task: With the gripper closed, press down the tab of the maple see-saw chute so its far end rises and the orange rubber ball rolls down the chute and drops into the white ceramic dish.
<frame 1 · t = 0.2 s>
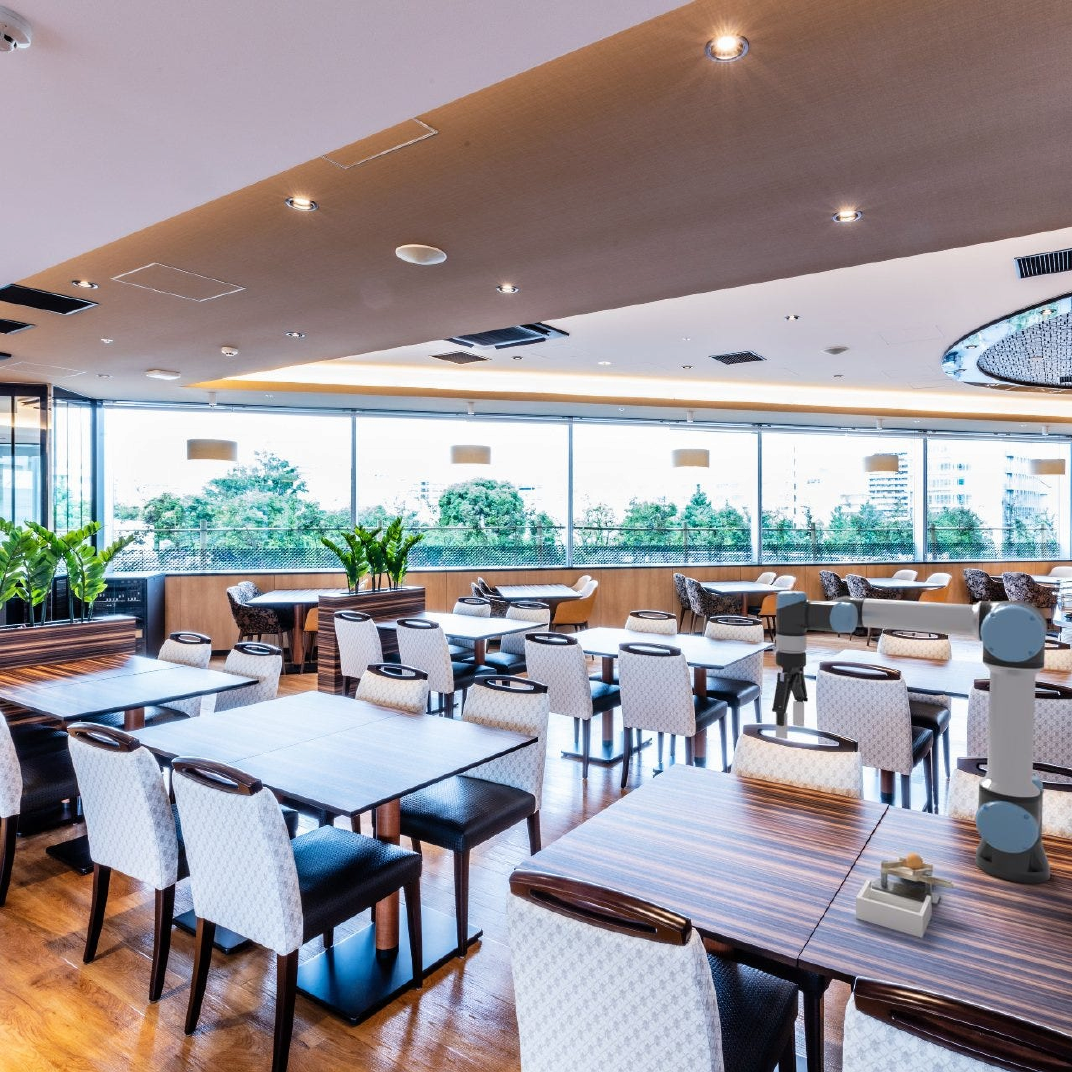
hand: (790, 731, 200), 28 cm above the table, fingers open, 13 cm apart
ball: (914, 861, 179), point 3 cm above the table, tilted 10°, touching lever
dish: (893, 916, 161), on the table
stand: (905, 892, 171), on the table
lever: (922, 872, 170), point 5 cm above the table, hinge at 19.3°, touching ball
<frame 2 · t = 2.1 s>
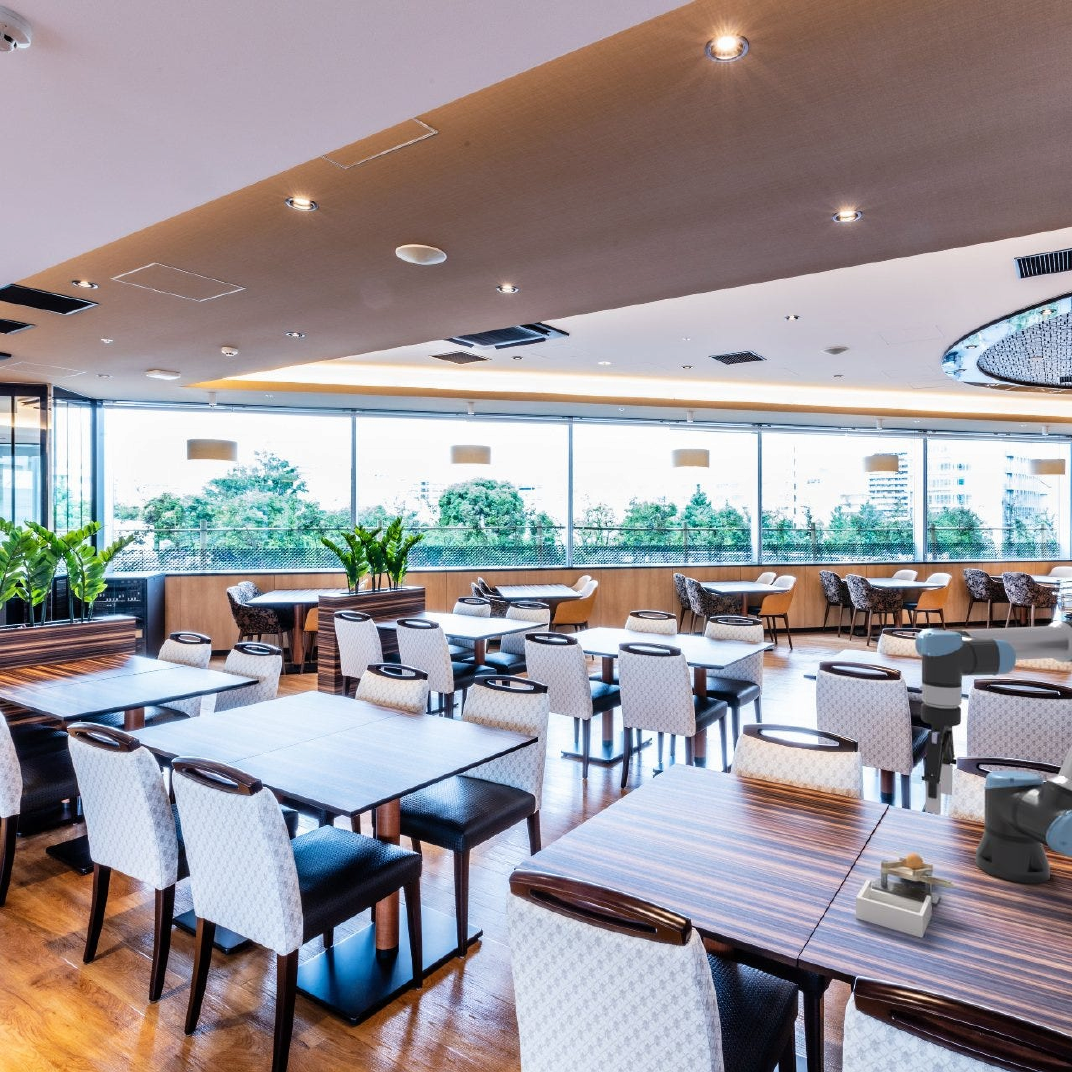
hand: (939, 802, 164), 23 cm above the table, fingers open, 13 cm apart
nothing on the table moved.
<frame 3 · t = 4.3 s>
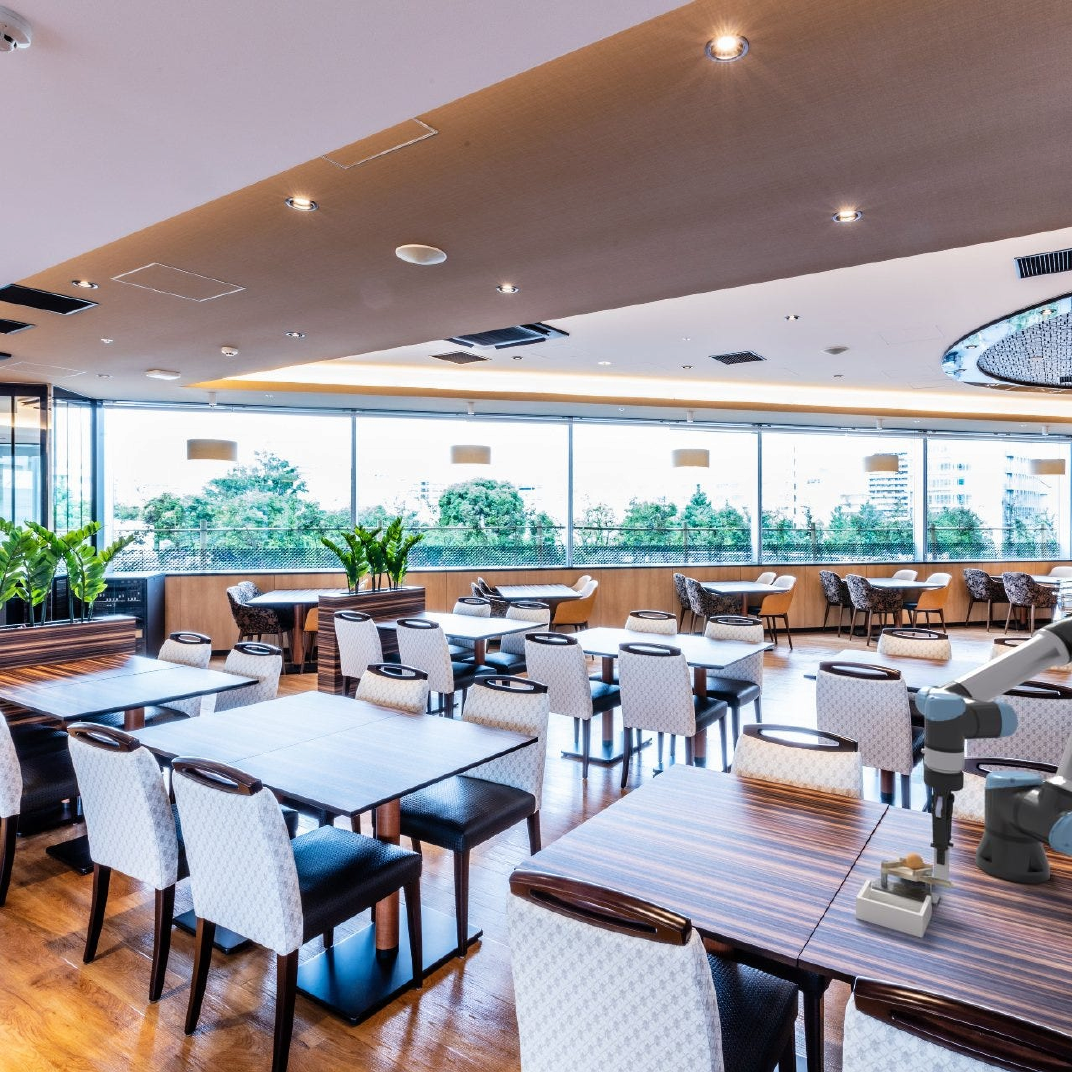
hand: (941, 877, 163), 7 cm above the table, fingers closed
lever: (922, 872, 170), point 5 cm above the table, hinge at 19.1°, touching ball, gripper
everything else where it was.
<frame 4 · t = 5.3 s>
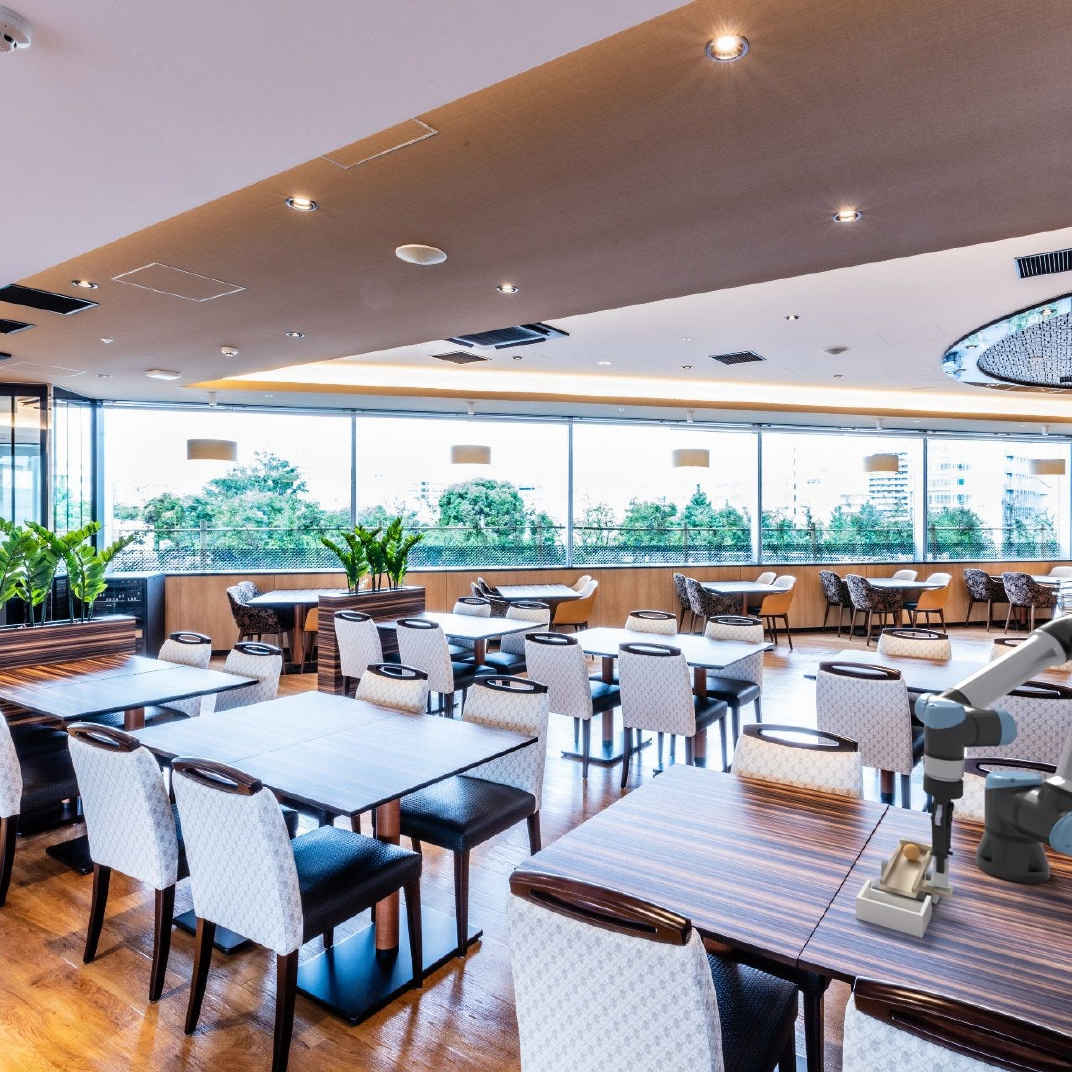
hand: (940, 885, 163), 5 cm above the table, fingers closed
ball: (911, 852, 175), point 7 cm above the table, tilted 126°, touching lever
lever: (921, 869, 170), point 5 cm above the table, hinge at -3.1°, touching ball, gripper
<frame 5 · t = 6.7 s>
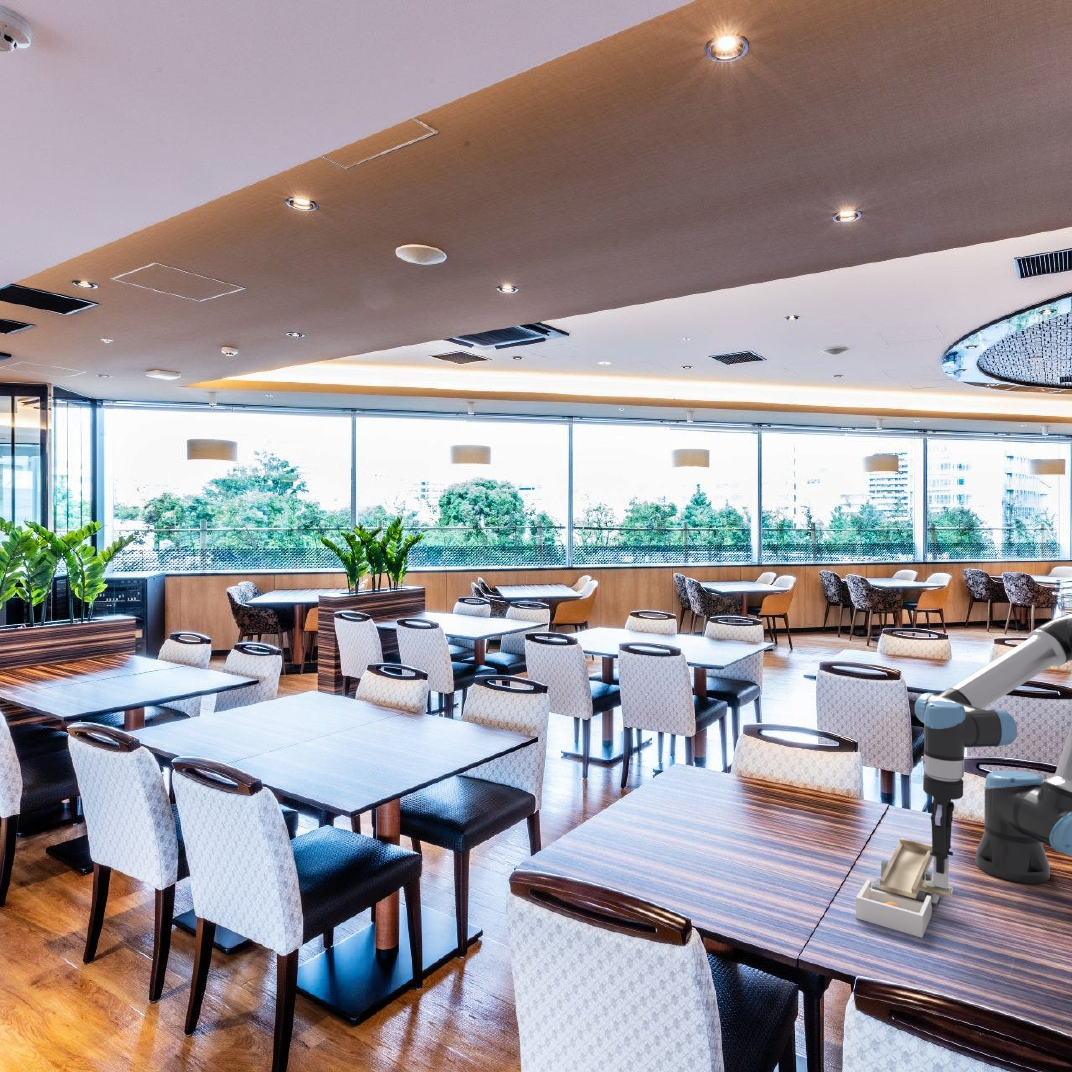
hand: (940, 885, 163), 5 cm above the table, fingers closed
ball: (891, 910, 159), point 2 cm above the table, tilted 95°, touching dish
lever: (921, 869, 170), point 5 cm above the table, hinge at -3.5°, touching gripper
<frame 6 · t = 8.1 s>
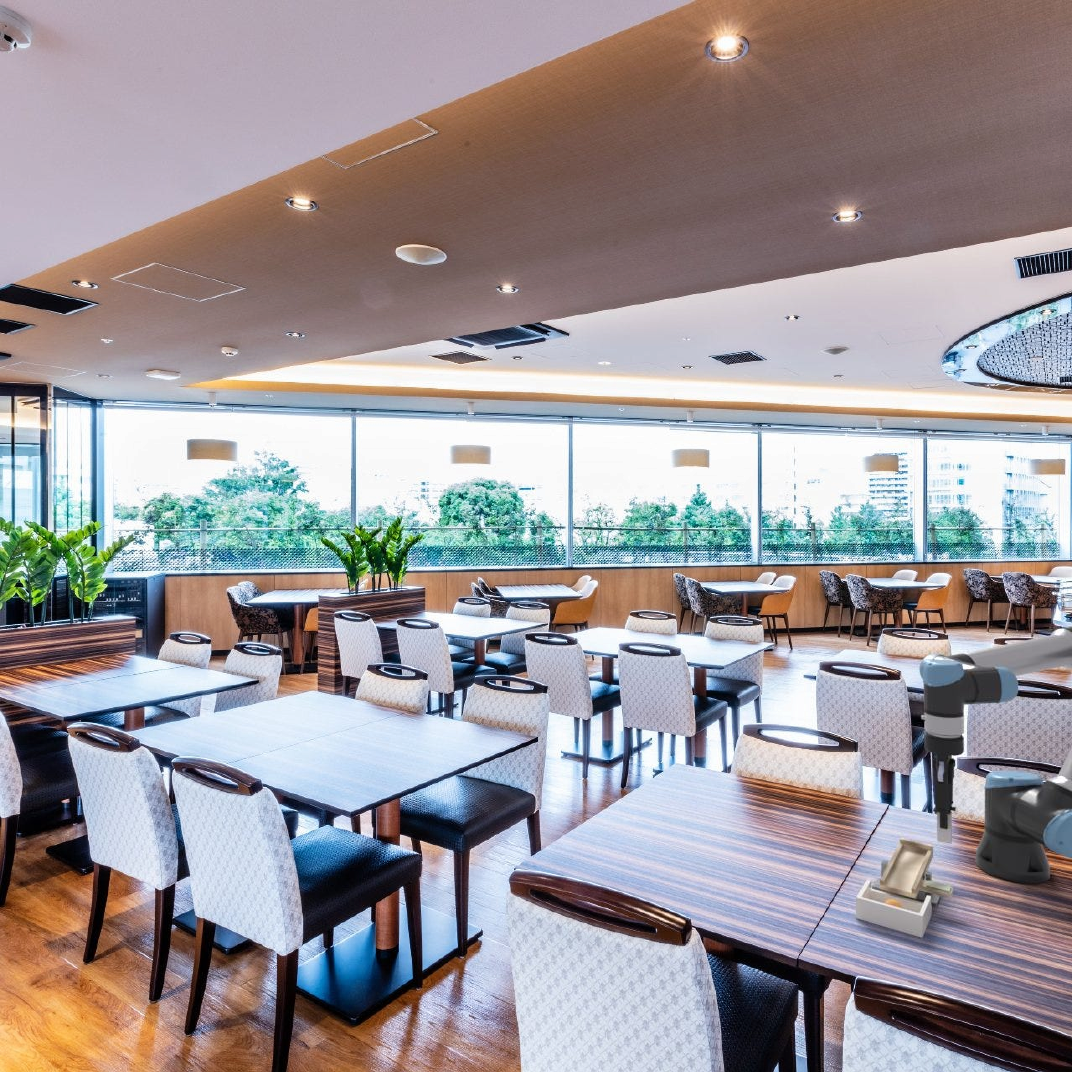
hand: (944, 841, 165), 14 cm above the table, fingers closed
ball: (893, 908, 160), point 2 cm above the table, tilted 56°, touching dish
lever: (921, 869, 170), point 5 cm above the table, hinge at -3.5°
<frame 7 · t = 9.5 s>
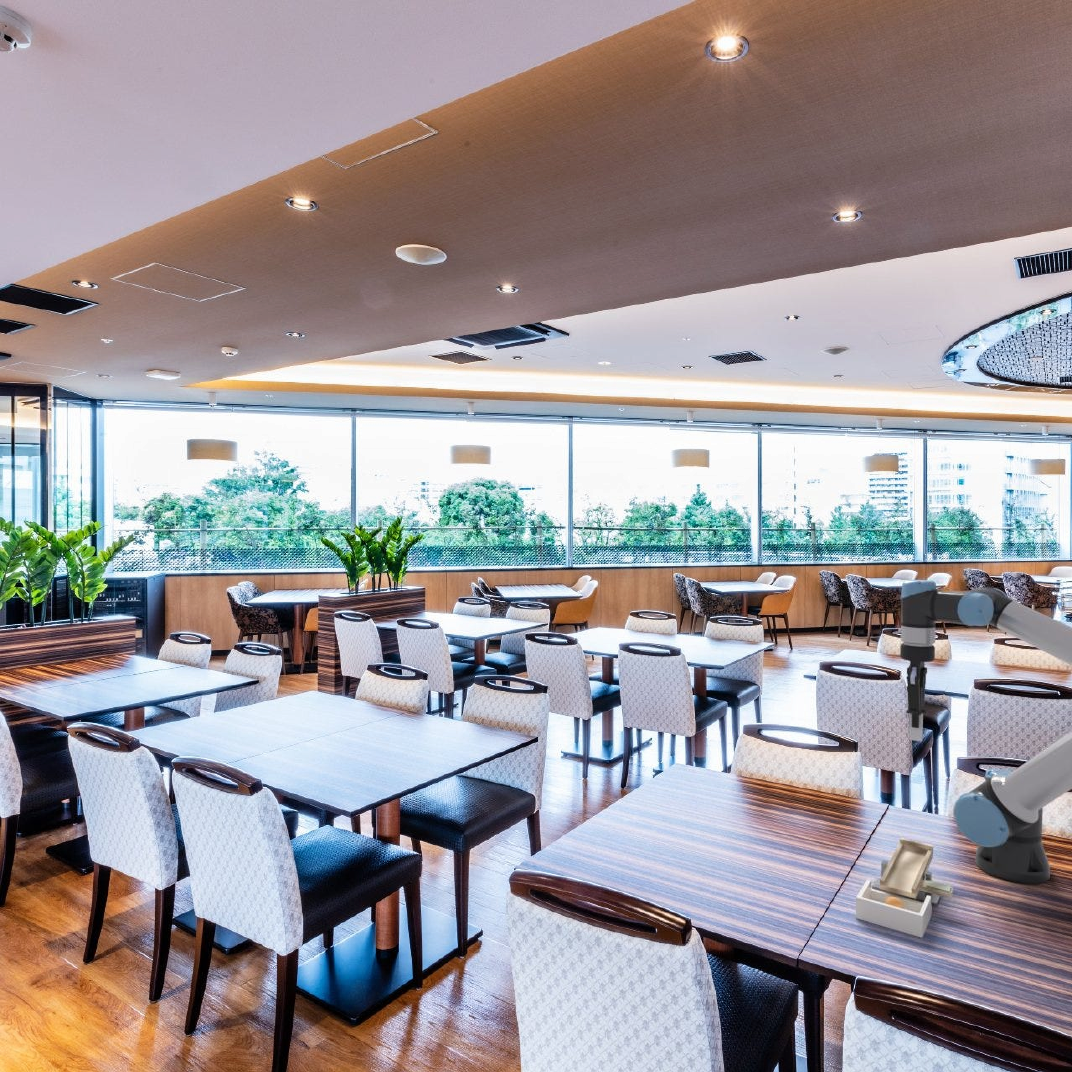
hand: (915, 739, 187), 29 cm above the table, fingers closed
ball: (894, 906, 161), point 2 cm above the table, tilted 16°, touching dish
everything else where it was.
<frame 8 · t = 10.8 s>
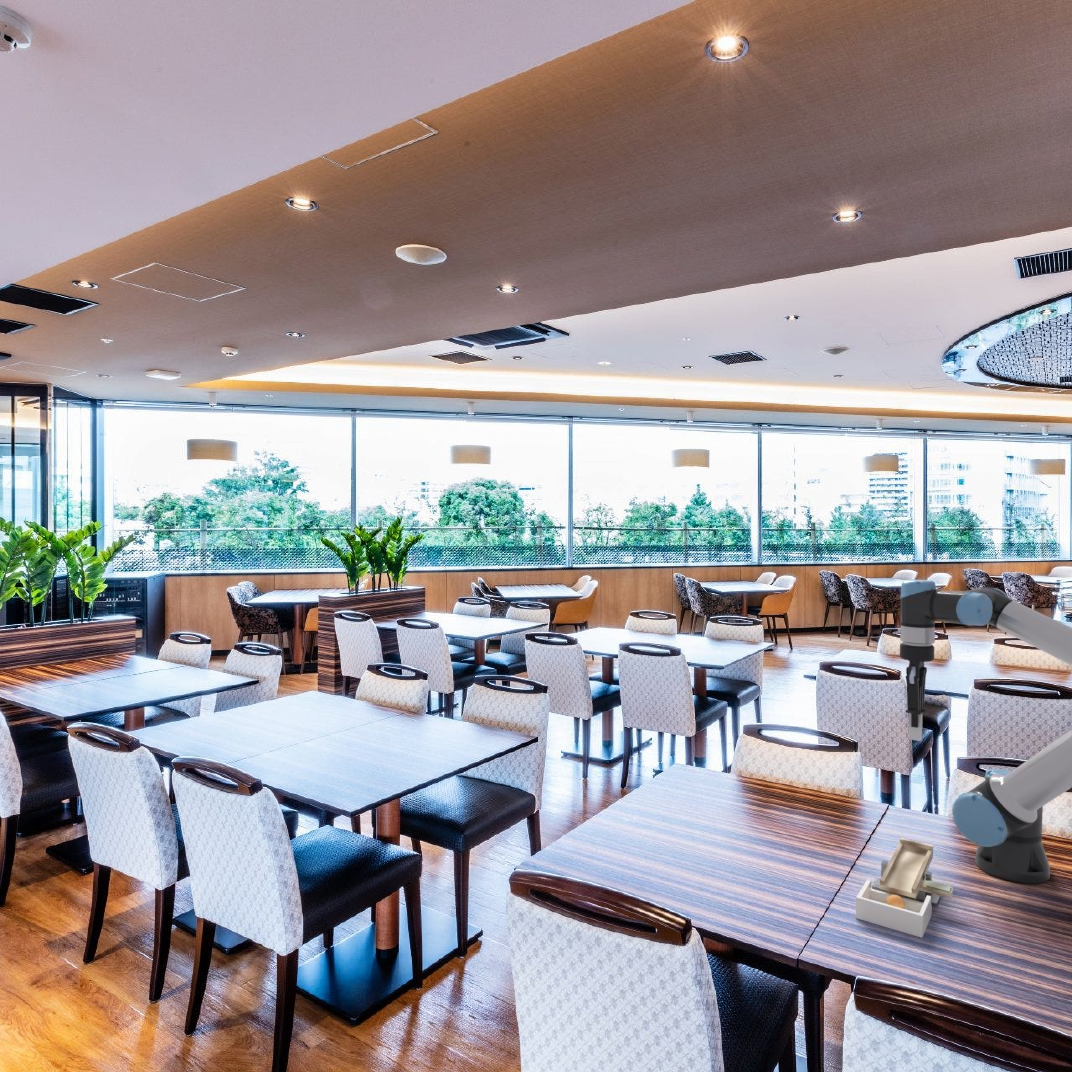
hand: (915, 739, 187), 29 cm above the table, fingers closed
ball: (895, 903, 162), point 2 cm above the table, tilted 21°, touching dish
everything else where it was.
at the end: ball inside the target area on the dish (1.4 cm from its centre), point 2.1 cm above the dish's base; ball touching dish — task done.
